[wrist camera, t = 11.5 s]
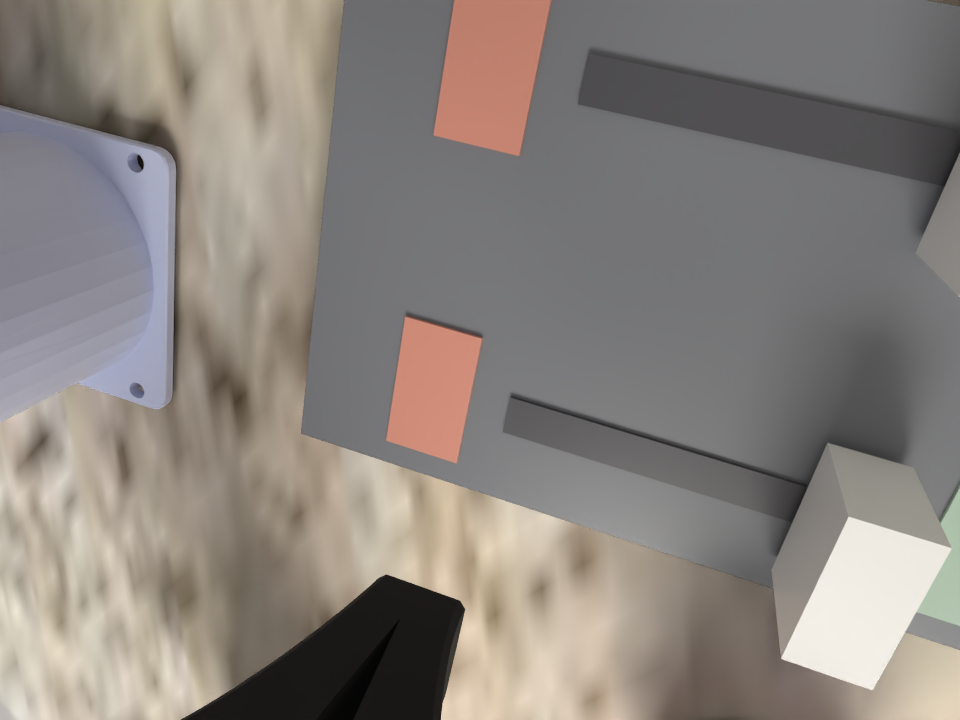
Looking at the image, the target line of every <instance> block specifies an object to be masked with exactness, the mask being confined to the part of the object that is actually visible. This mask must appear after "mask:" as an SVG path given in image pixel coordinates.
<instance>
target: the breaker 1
mask: <svg viewBox="0 0 960 720" xmlns="http://www.w3.org/2000/svg"><path fill="white" fill-rule="evenodd" d="M951 549H952V547H951V545H950V543H949V541H948V539H947V537H946V535H945V533H944V531H943V529H942V526H941V524H940V522H939V520H938V518H937V516H936V514H935V512H934V510H933V508H932V505H931V503H930V501H929V499H928V497H927V495H926V493H925V491H924V489H923V487H922V485H921V482H920V480H919V478H918V476H917V474H916V472H915V470H914V468H913V467H910V466H906V465H903V464H899V463H896V462H892V461H889V460H886V459H882V458H879V457H875V456H872V455H868V454H865V453H861V452H858V451H855V450H851V449H848V448H844V447H841V446H837V445H834V444H830V443H827V445H826V447H825V450H824V452H823V454H822V456H821V459H820V461H819V463H818V465H817V468H816V470H815V472H814V475H813V477H812V479H811V481H810V484H809V486H808V488H807V490H806V493H805V495H804V497H803V499H802V502H801V504H800V506H799V509H798V511H797V513H796V515H795V518H794V520H793V522H792V524H791V527H790V529H789V531H788V534H787V536H786V538H785V540H784V543H783V545H782V547H781V549H780V552H779V554H778V556H777V559H776V561H775V563H774V565H773V568H772V570H771V571H772V580H773V589H774V599H775V608H776V617H777V627H778V636H779V646H780V655H781V659H783V660H785V661H788V662H791V663H794V664H797V665H800V666H803V667H806V668H809V669H812V670H814V671H817V672H820V673H823V674H826V675H829V676H832V677H835V678H838V679H841V680H843V681H846V682H849V683H852V684H855V685H858V686H861V687H864V688H867V689H870V690H873V689H874V687H875V685H876V683H877V682H878V680H879V678H880V676H881V674H882V673H883V671H884V669H885V667H886V665H887V664H888V662H889V660H890V658H891V656H892V655H893V653H894V651H895V649H896V648H897V646H898V644H899V642H900V640H901V639H902V637H903V635H904V633H905V631H906V630H907V628H908V626H909V624H910V622H911V621H912V619H913V617H914V615H915V614H916V612H917V610H918V608H919V606H920V605H921V603H922V601H923V599H924V597H925V596H926V594H927V592H928V590H929V588H930V587H931V585H932V583H933V581H934V580H935V578H936V576H937V574H938V572H939V571H940V569H941V567H942V565H943V563H944V562H945V560H946V558H947V556H948V554H949V553H950V551H951Z"/></svg>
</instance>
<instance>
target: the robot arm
mask: <svg viewBox="0 0 960 720" xmlns="http://www.w3.org/2000/svg"><path fill="white" fill-rule="evenodd" d="M138 155H140V156H141V158H142V159H143V162H144V168H143V169H141V167H140V166H139V164H138V161H137V157H138ZM175 209H176V165H175V161H174V159H173V157H172V155H171V154H170V153H169V152H168V151H167V150H165V149H163V148H161V147H158V146H155V145H151V144H147V143H143V142H139V141H135V140H132V139H128V138H124V137H120V136H116V135H113V134H109V133H105V132H101V131H97V130H93V129H90V128H86V127H82V126H78V125H74V124H71V123H67V122H63V121H59V120H55V119H52V118H48V117H44V116H40V115H36V114H32V113H29V112H25V111H21V110H17V109H13V108H10V107H6V106H2V105H0V422H2V421H4V420H6V419H8V418H10V417H12V416H14V415H16V414H18V413H20V412H22V411H24V410H26V409H28V408H29V407H31V406H33V405H35V404H37V403H39V402H41V401H43V400H45V399H47V398H49V397H51V396H53V395H55V394H57V393H59V392H61V391H63V390H65V389H67V388H69V387H70V386H72V385H74V384H76V383H77V384H80V385H83V386H86V387H89V388H92V389H95V390H98V391H101V392H104V393H107V394H110V395H113V396H116V397H119V398H122V399H125V400H128V401H131V402H134V403H137V404H140V405H143V406H146V407H149V408H152V409H160V408H162V407H164V406H166V405H167V404H168V403H169V402H170V401H171V399H172V389H173V329H174V269H175ZM138 384H140V385H141V386H142V388H143V389H144V392H143V391H142V390H141V389H140V388H139V385H138ZM464 612H465V608H464V607H463V605H462V603H461V602H460V601H459V600H456V599H453V598H451V597H448V596H445V595H442V594H440V593H437V592H434V591H431V590H428V589H426V588H423V587H420V586H417V585H414V584H412V583H409V582H406V581H403V580H400V579H398V578H395V577H392V576H389V575H385V576H382V577H380V578H378V579H377V580H376V581H375V582H374V583H373V584H372V585H371V586H369V587H368V588H367V589H366V590H365V591H364V592H363V593H361V594H360V595H359V596H358V597H357V598H356V599H354V600H353V601H352V602H351V603H350V604H349V605H347V606H346V607H345V608H344V609H343V610H341V611H340V612H339V613H338V614H336V615H335V616H334V617H333V618H331V619H330V620H329V621H328V622H326V623H325V624H324V625H323V626H321V627H320V628H319V629H317V630H316V631H315V632H313V633H312V634H311V635H309V636H308V637H307V638H305V639H304V640H303V641H301V642H300V643H299V644H297V645H296V646H295V647H293V648H292V649H290V650H289V651H288V652H286V653H285V654H284V655H282V656H281V657H279V658H278V659H277V660H275V661H274V662H272V663H271V664H269V665H268V666H266V667H265V668H263V669H262V670H260V671H259V672H257V673H256V674H254V675H253V676H251V677H250V678H248V679H247V680H245V681H244V682H242V683H241V684H239V685H238V686H236V687H235V688H233V689H232V690H230V691H229V692H227V693H225V694H224V695H222V696H220V697H219V698H217V699H216V700H214V701H212V702H211V703H209V704H207V705H206V706H204V707H202V708H201V709H199V710H197V711H195V712H194V713H192V714H190V715H188V716H187V717H185V718H183V719H181V720H441V711H442V703H443V700H444V697H445V694H446V690H447V686H448V681H449V677H450V673H451V668H452V664H453V660H454V655H455V651H456V647H457V642H458V638H459V634H460V629H461V625H462V621H463V616H464Z"/></svg>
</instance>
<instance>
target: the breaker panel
mask: <svg viewBox="0 0 960 720" xmlns="http://www.w3.org/2000/svg"><path fill="white" fill-rule="evenodd" d="M959 153H960V6H956V5H950V4H945V3H939V2H934V1H928V0H344V7H343V17H342V27H341V37H340V47H339V57H338V67H337V77H336V87H335V97H334V108H333V118H332V128H331V138H330V148H329V158H328V168H327V178H326V188H325V198H324V208H323V218H322V228H321V238H320V248H319V258H318V268H317V278H316V288H315V298H314V308H313V318H312V328H311V338H310V348H309V358H308V368H307V378H306V388H305V398H304V409H303V419H302V429H301V434H304V435H307V436H310V437H313V438H316V439H319V440H322V441H325V442H328V443H331V444H334V445H337V446H340V447H343V448H346V449H350V450H353V451H356V452H359V453H362V454H365V455H368V456H371V457H374V458H377V459H380V460H383V461H386V462H389V463H392V464H395V465H398V466H401V467H404V468H407V469H410V470H413V471H416V472H420V473H423V474H426V475H429V476H432V477H435V478H438V479H441V480H444V481H447V482H450V483H453V484H456V485H459V486H462V487H465V488H468V489H471V490H474V491H477V492H480V493H483V494H486V495H489V496H493V497H496V498H499V499H502V500H505V501H508V502H511V503H514V504H517V505H520V506H523V507H526V508H529V509H532V510H535V511H538V512H541V513H544V514H547V515H550V516H553V517H556V518H559V519H563V520H566V521H569V522H572V523H575V524H578V525H581V526H584V527H587V528H590V529H593V530H596V531H599V532H602V533H605V534H608V535H611V536H614V537H617V538H620V539H623V540H626V541H629V542H632V543H636V544H639V545H642V546H645V547H648V548H651V549H654V550H657V551H660V552H663V553H666V554H669V555H672V556H675V557H678V558H681V559H684V560H687V561H690V562H693V563H696V564H699V565H702V566H706V567H709V568H712V569H715V570H718V571H721V572H724V573H727V574H730V575H733V576H736V577H739V578H742V579H745V580H748V581H751V582H754V583H757V584H760V585H763V586H766V587H769V588H772V589H773V580H772V571H771V570H772V568H773V565H774V563H775V561H776V559H777V556H778V554H779V552H780V549H781V547H782V545H783V543H784V540H785V538H786V536H787V534H788V531H789V529H790V527H791V524H792V522H793V520H794V518H795V515H796V513H797V511H798V509H799V506H800V504H801V502H802V499H803V497H804V495H805V493H806V490H807V488H808V486H809V484H810V481H811V479H812V477H813V475H814V472H815V470H816V468H817V465H818V463H819V461H820V459H821V456H822V454H823V452H824V450H825V447H826V445H827V443H830V444H834V445H837V446H841V447H844V448H848V449H851V450H855V451H858V452H861V453H865V454H868V455H872V456H875V457H879V458H882V459H886V460H889V461H892V462H896V463H899V464H903V465H906V466H910V467H913V468H914V470H915V472H916V474H917V476H918V478H919V480H920V482H921V485H922V487H923V489H924V491H925V493H926V495H927V497H928V499H929V501H930V503H931V505H932V508H933V510H934V512H935V514H936V516H937V518H938V520H939V522H940V524H941V526H942V529H943V531H944V533H945V535H946V537H947V539H948V541H949V543H950V545H951V547H952V549H951V551H950V553H949V554H948V556H947V558H946V560H945V562H944V563H943V565H942V567H941V569H940V571H939V572H938V574H937V576H936V578H935V580H934V581H933V583H932V585H931V587H930V588H929V590H928V592H927V594H926V596H925V597H924V599H923V601H922V603H921V605H920V606H919V608H918V610H917V612H916V614H915V615H914V617H913V619H912V621H911V622H910V624H909V626H908V628H907V630H906V631H905V632H906V633H909V634H912V635H915V636H918V637H922V638H925V639H928V640H931V641H934V642H937V643H940V644H943V645H946V646H949V647H952V648H955V649H958V650H960V297H959V296H958V295H957V294H956V293H955V292H954V291H953V290H952V289H951V288H950V287H949V286H948V285H947V284H946V283H945V282H944V281H943V280H942V279H941V278H940V277H939V276H938V275H937V274H936V273H935V272H934V271H933V270H932V269H931V268H930V267H929V266H928V265H927V264H926V263H925V262H924V261H923V260H922V259H921V258H920V257H919V256H918V255H917V254H916V250H917V248H918V246H919V244H920V241H921V239H922V237H923V235H924V232H925V230H926V228H927V226H928V223H929V221H930V219H931V216H932V214H933V212H934V210H935V207H936V205H937V203H938V201H939V198H940V196H941V194H942V192H943V189H944V187H945V185H946V183H947V180H948V178H949V176H950V174H951V171H952V169H953V167H954V165H955V162H956V160H957V158H958V155H959Z"/></svg>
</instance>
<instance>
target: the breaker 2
mask: <svg viewBox="0 0 960 720" xmlns="http://www.w3.org/2000/svg"><path fill="white" fill-rule="evenodd" d="M916 254H917V255H918V256H919V257H920V258H921V259H922V260H923V261H924V262H925V263H926V264H927V265H928V266H929V267H930V268H931V269H932V270H933V271H934V272H935V273H936V274H937V275H938V276H939V277H940V278H941V279H942V280H943V281H944V282H945V283H946V284H947V285H948V286H949V287H950V288H951V289H952V290H953V291H954V292H955V293H956V294H957V295H958V296H959V297H960V153H959V155H958V158H957V160H956V162H955V165H954V167H953V169H952V171H951V174H950V176H949V178H948V180H947V183H946V185H945V187H944V189H943V192H942V194H941V196H940V198H939V201H938V203H937V205H936V207H935V210H934V212H933V214H932V216H931V219H930V221H929V223H928V226H927V228H926V230H925V232H924V235H923V237H922V239H921V241H920V244H919V246H918V248H917V250H916Z"/></svg>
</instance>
